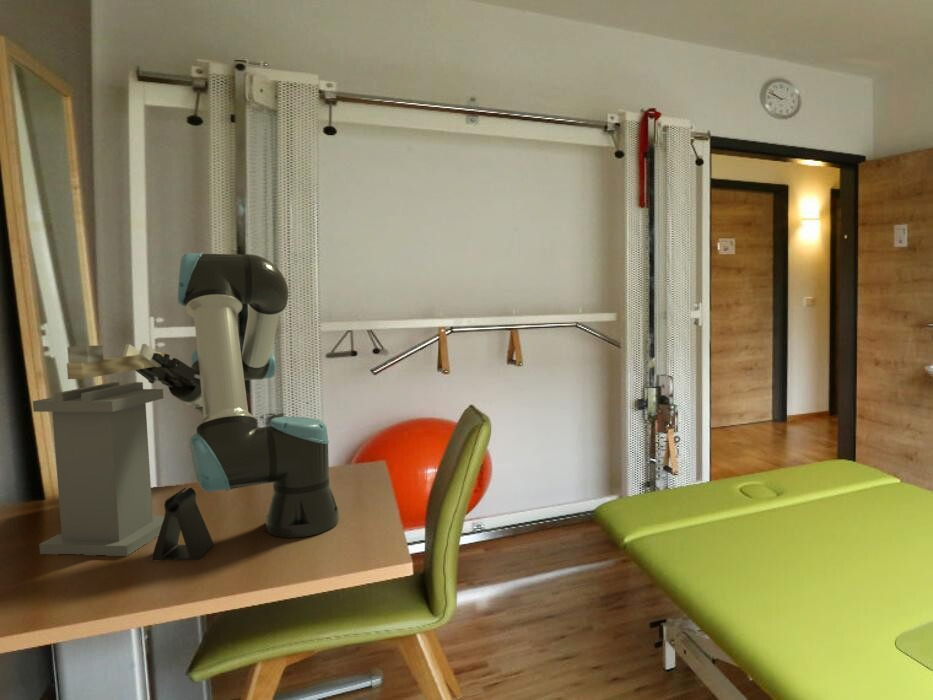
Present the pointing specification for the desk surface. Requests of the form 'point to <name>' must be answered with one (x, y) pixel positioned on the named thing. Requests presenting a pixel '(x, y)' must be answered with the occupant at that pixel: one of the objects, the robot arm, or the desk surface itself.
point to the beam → (101, 362)
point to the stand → (102, 469)
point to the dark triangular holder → (182, 529)
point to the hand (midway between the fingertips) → (134, 349)
